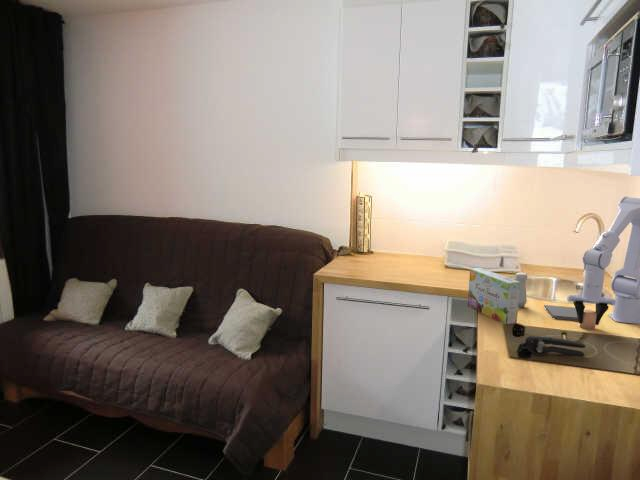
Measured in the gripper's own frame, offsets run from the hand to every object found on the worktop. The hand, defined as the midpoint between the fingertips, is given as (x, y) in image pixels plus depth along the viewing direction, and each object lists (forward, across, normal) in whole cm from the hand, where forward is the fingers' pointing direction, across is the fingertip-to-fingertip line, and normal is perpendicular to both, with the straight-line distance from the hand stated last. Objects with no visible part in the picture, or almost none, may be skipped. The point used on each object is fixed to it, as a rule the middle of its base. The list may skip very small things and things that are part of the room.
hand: (587, 323), depth 169 cm
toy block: (+1, 0, 0) cm, 1 cm away
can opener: (+2, -18, -28) cm, 33 cm away
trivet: (+1, -3, +13) cm, 13 cm away
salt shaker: (+2, -19, +19) cm, 27 cm away
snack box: (+2, -31, +4) cm, 31 cm away
